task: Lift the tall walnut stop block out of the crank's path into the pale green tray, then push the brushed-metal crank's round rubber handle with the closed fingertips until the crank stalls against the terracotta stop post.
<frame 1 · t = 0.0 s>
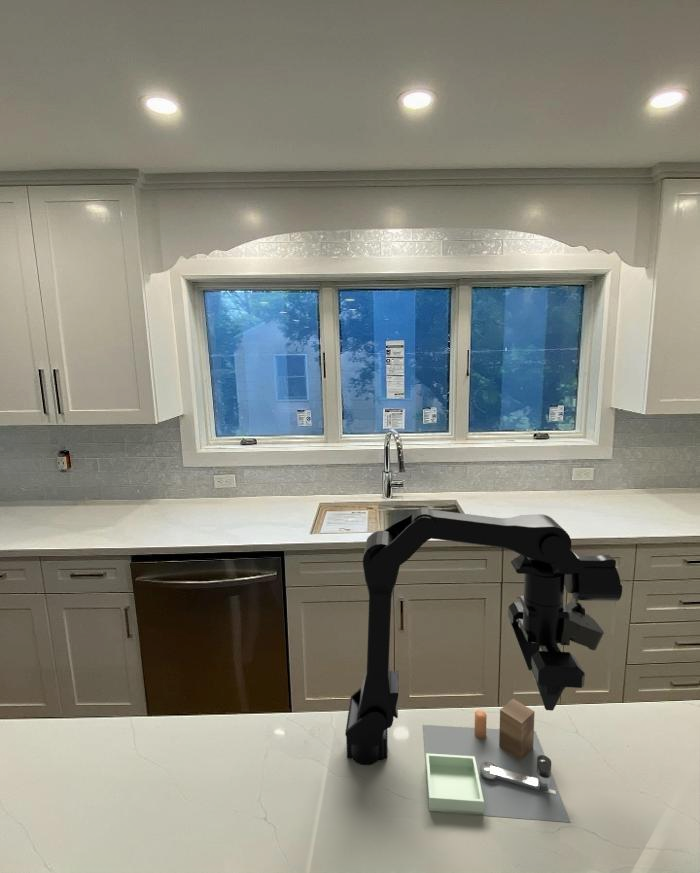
hand: (539, 688, 72), 14 cm above the table, fingers open, 9 cm apart
plate: (488, 780, 72), on the table
stop block: (516, 747, 77), point 1 cm above the table, touching plate
crank: (514, 766, 71), point 4 cm above the table, hinge at -15.0°
tray: (453, 788, 70), resting on plate
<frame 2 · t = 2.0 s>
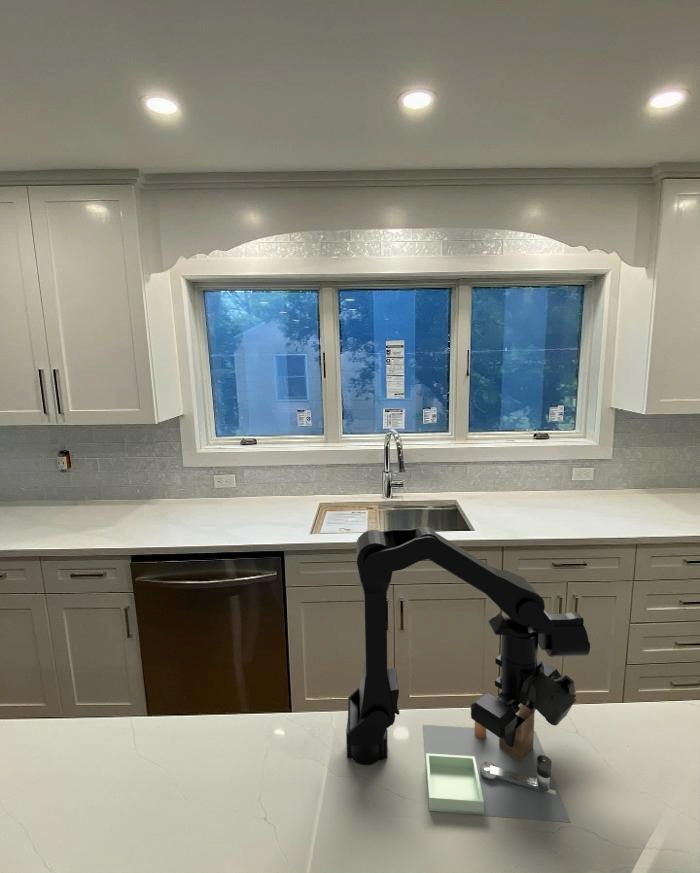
hand: (516, 738, 77), 3 cm above the table, fingers closed on stop block, 4 cm apart
stop block: (516, 747, 77), point 1 cm above the table, touching gripper, plate
everything else where it was.
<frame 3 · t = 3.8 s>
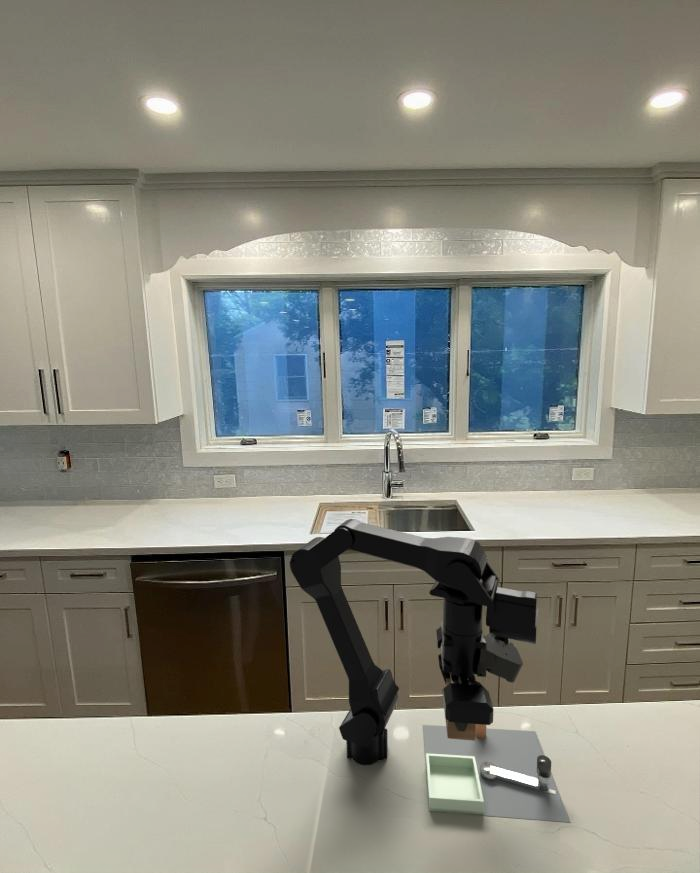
hand: (459, 719, 69), 12 cm above the table, fingers closed on stop block, 4 cm apart
stop block: (459, 729, 69), point 11 cm above the table, touching gripper
everything else where it was.
when the fingers open (4 cm above the table, at t = 5.5 s): stop block drops 1 cm, resting on tray.
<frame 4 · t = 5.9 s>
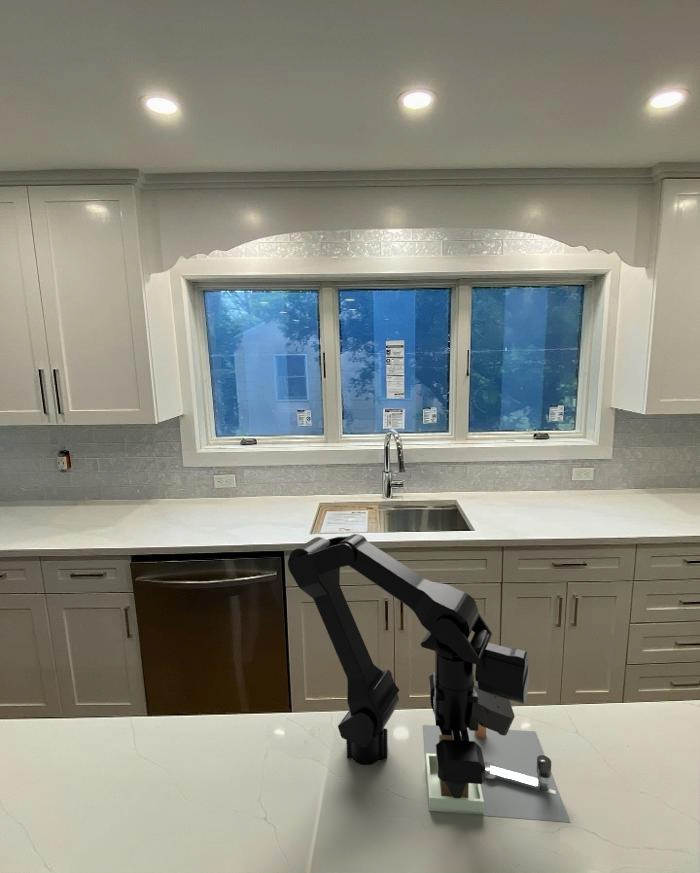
hand: (453, 770, 70), 4 cm above the table, fingers open, 9 cm apart
stop block: (453, 786, 70), point 2 cm above the table, touching tray
everything else where it was.
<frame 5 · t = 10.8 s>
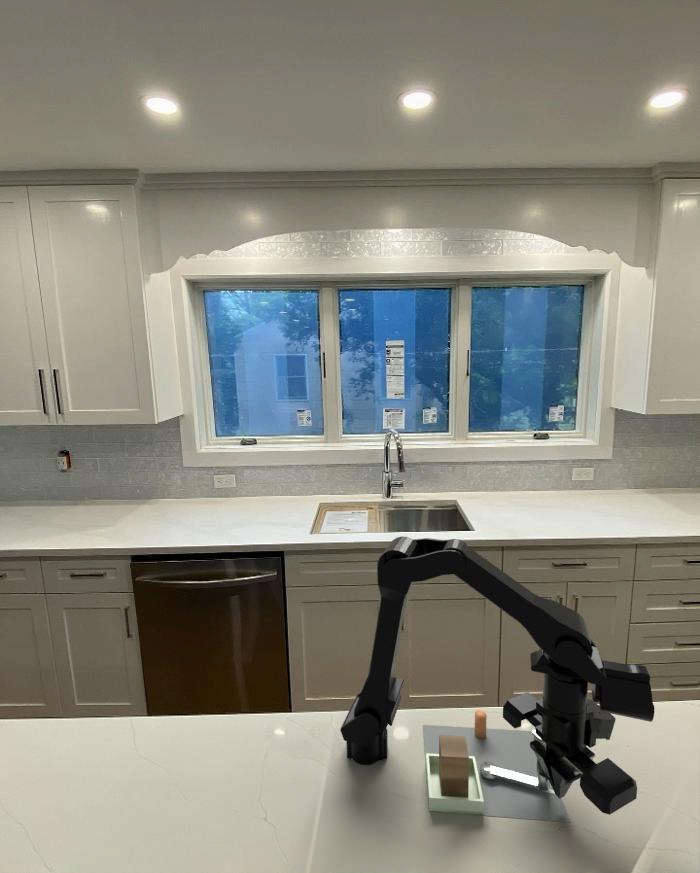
hand: (560, 795, 67), 3 cm above the table, fingers closed
crank: (514, 766, 71), point 4 cm above the table, hinge at -14.1°, touching gripper
everything else where it was.
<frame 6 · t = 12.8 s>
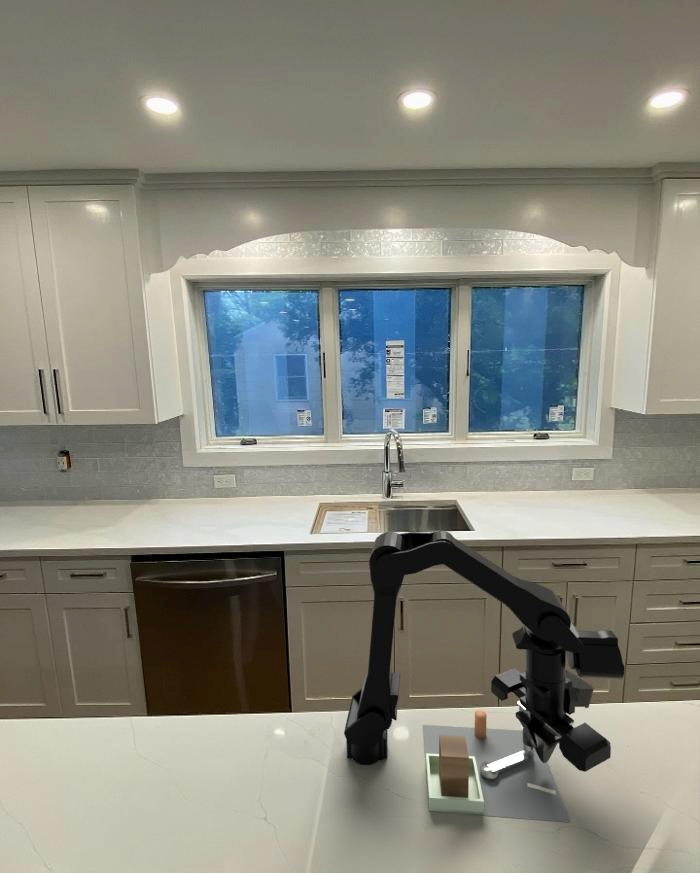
hand: (544, 760, 72), 3 cm above the table, fingers closed
crank: (508, 751, 73), point 4 cm above the table, hinge at 27.0°, touching gripper
everything else where it was.
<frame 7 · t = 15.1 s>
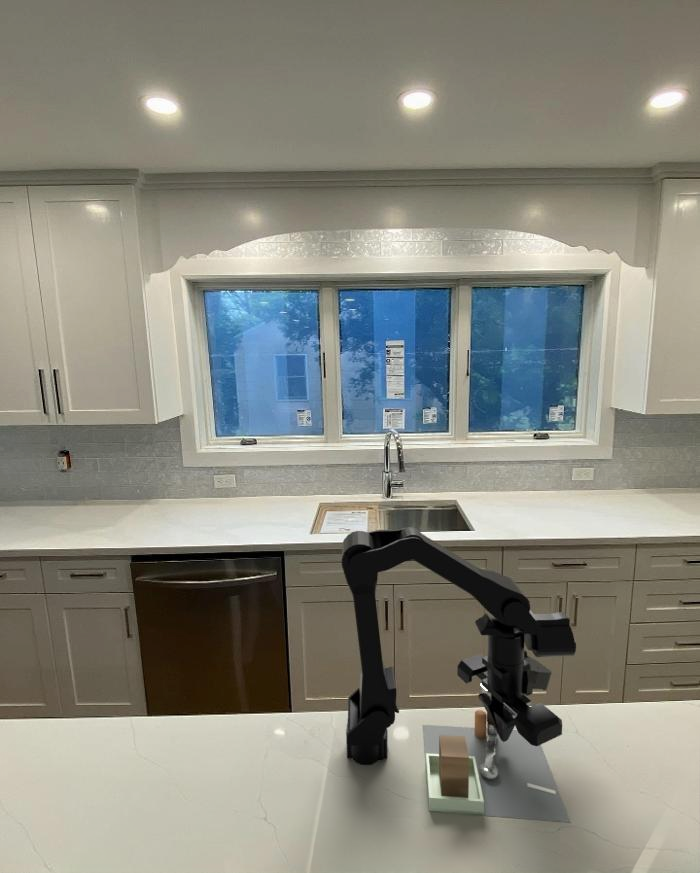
hand: (504, 740, 77), 3 cm above the table, fingers closed
crank: (490, 741, 75), point 4 cm above the table, hinge at 74.7°, touching gripper
everything else where it was.
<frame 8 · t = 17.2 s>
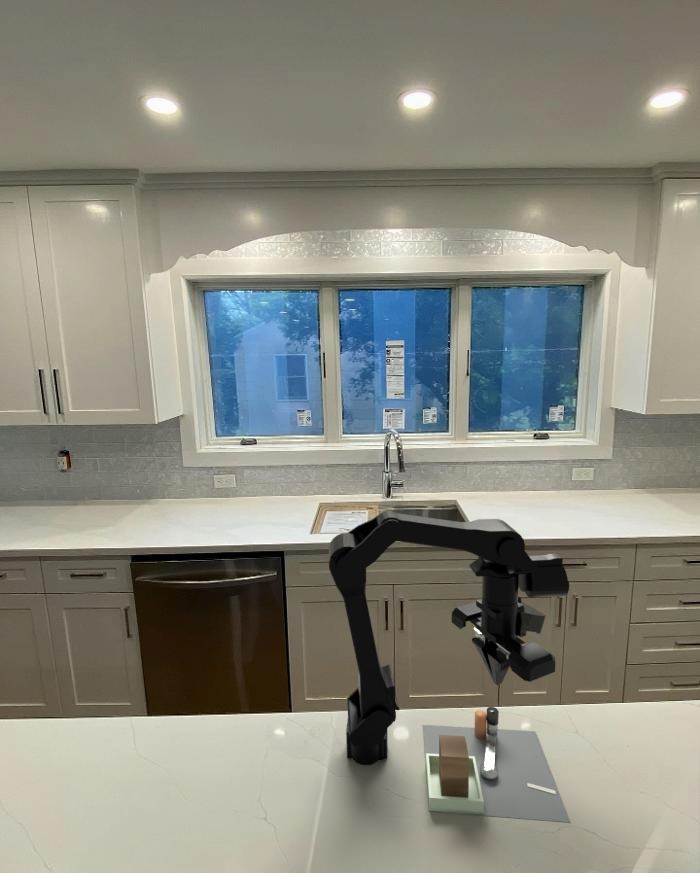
hand: (497, 683, 77), 12 cm above the table, fingers closed
crank: (490, 741, 75), point 4 cm above the table, hinge at 75.1°, touching plate
everything else where it was.
at the end: crank at +75° (first picture: -15°); stop block 0.0 cm off-centre on the tray, point 0.4 cm above the tray's base; stop block tilted 0° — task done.
